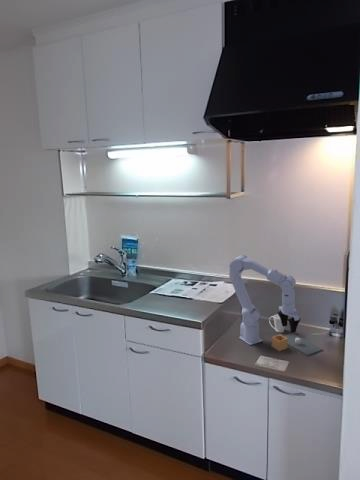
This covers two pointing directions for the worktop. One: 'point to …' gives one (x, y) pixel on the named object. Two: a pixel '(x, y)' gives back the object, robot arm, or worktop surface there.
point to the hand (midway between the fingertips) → (288, 329)
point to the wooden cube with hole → (279, 342)
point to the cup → (277, 323)
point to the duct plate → (302, 345)
